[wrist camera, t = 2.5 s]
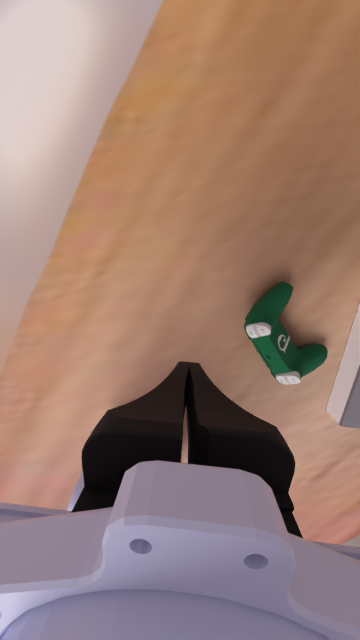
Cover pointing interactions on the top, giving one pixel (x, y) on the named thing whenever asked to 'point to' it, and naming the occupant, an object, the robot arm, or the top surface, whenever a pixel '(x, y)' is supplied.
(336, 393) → the bar
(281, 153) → the top surface
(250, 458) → the robot arm
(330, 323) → the top surface
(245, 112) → the top surface
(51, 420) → the top surface
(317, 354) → the gaming controller
